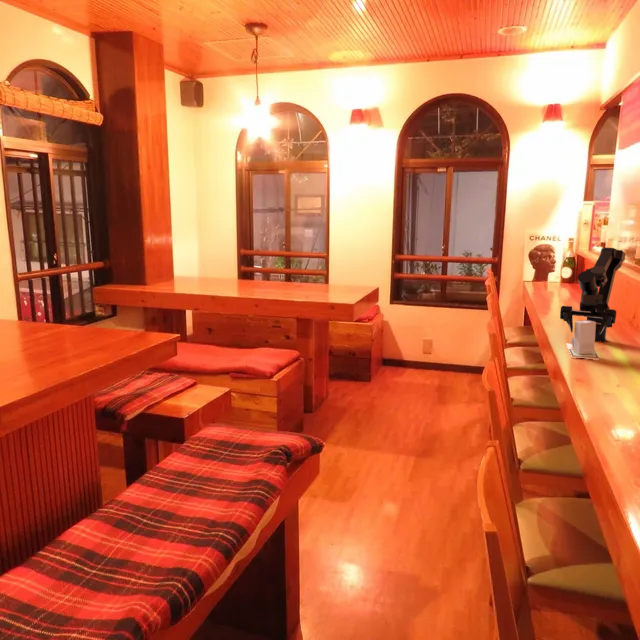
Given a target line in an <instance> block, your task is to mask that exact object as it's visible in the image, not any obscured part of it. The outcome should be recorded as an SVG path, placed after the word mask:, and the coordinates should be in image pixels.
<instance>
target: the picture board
mask: <svg viewBox="0 0 640 640" xmlns="http://www.w3.org/2000/svg"><path fill="white" fill-rule="evenodd" d="M566 345H567V347H566V349H567V348H568V349H567V350H569V351H568V353H569V352H570V353H569V355H570V354H571V356H570V358H571V357H576V358H586V359H585V360H588V359H593V360H592V361H599V360H600V358H599V356H598V354H597V353H596V351H595V350H594V353H591V354H577V353H575V352H574V351H573V350H574V337H571V341H570V343H567V342H566V344H565V346H566ZM576 358H575V359H576Z"/></svg>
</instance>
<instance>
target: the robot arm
mask: <svg viewBox="0 0 640 640" xmlns="http://www.w3.org/2000/svg"><path fill="white" fill-rule="evenodd" d="M625 261H626V253H625V251H623V250H622V249H617V248H614V247H603V248H601V250H600V254H599V256H598V258H597V259H596V262H595V264H594V265H593V267H590V268H585V270H584V271H582V272H580V273H578V275H577V282H578V285H579V289H580V290H581V293H580V294H581V296H580V302H579V309H573V306H572V305H562V306H560V310H559V313H560V314H559V315H560V316H559V318H560V320H563V322H566V323H567V325H568V327H569V330H570V332H571V333H574V326H573V325H574V323H573V316H579V317H585V318H586V320H591V321H594V322H596V331H595V342H602V343H603V342H604V343H605V342H606V343H607V342H608V339H607V337H606V336H607V329H609V328H613V325H614V324H615V323H616V318H617V310H616V309H613V308H612V309H611V307H610V306H609V302H610V298H611V294H612V293H611V292H612V289H613V284H614V282H615V281H614V280H615V275H616V273H617V271H618V270H619V269H620V268H622V265H623V262H625Z"/></svg>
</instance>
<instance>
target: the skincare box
mask: <svg viewBox="0 0 640 640" xmlns="http://www.w3.org/2000/svg"><path fill="white" fill-rule="evenodd" d="M595 331H596V322H594V321H591V320H587V319H586V320H575V321H574V328H573V338H574V350H573V351H574V352H575V353H577V354H591V353H594V351H595V347H596V345H595V343H596V341H595Z"/></svg>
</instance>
